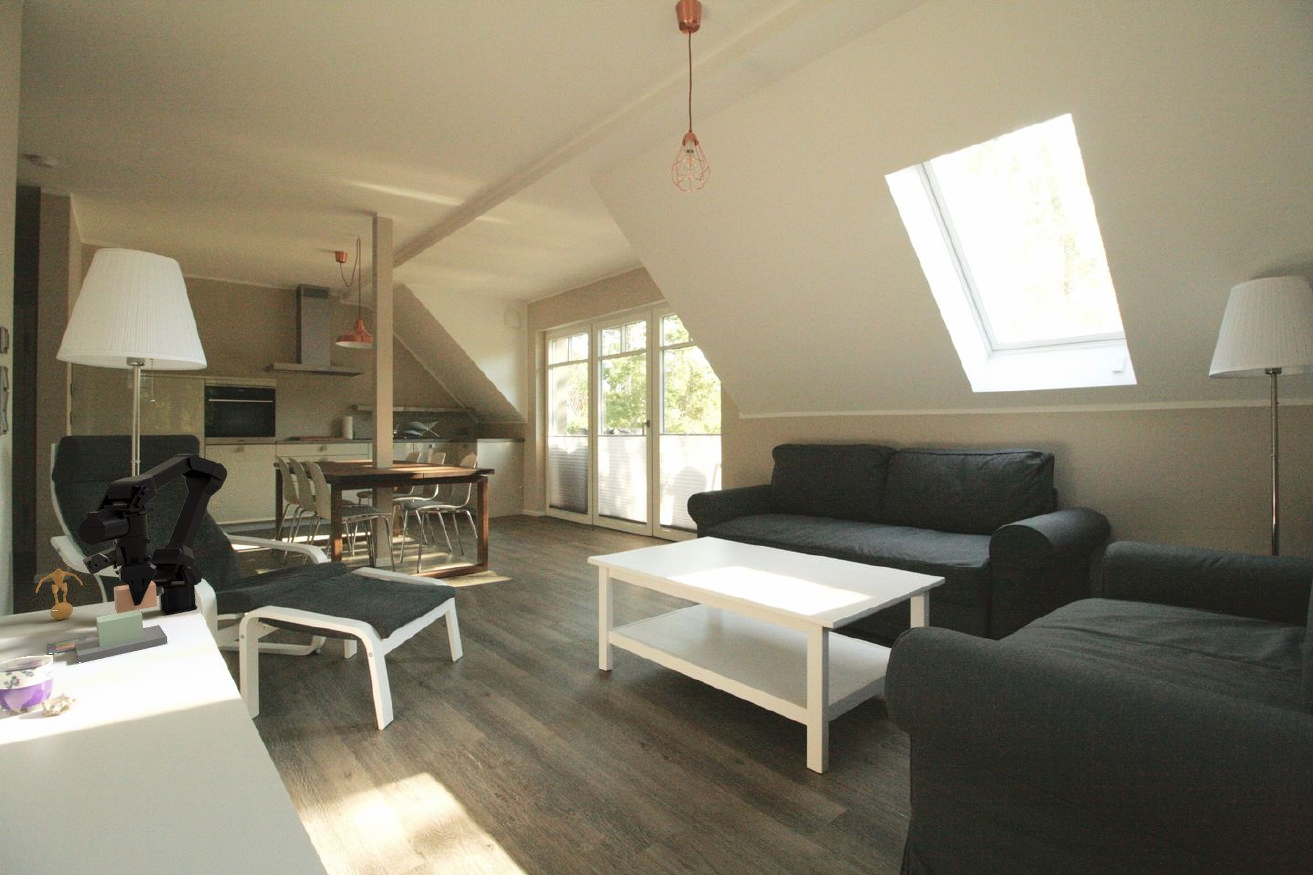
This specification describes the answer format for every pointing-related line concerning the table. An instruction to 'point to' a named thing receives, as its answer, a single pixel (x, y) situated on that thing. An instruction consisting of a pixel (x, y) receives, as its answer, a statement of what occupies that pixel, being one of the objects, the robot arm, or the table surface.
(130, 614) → the sage brick
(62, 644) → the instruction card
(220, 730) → the table surface
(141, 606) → the terracotta brick
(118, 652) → the base plate
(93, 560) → the robot arm
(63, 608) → the figurine
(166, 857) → the table surface
